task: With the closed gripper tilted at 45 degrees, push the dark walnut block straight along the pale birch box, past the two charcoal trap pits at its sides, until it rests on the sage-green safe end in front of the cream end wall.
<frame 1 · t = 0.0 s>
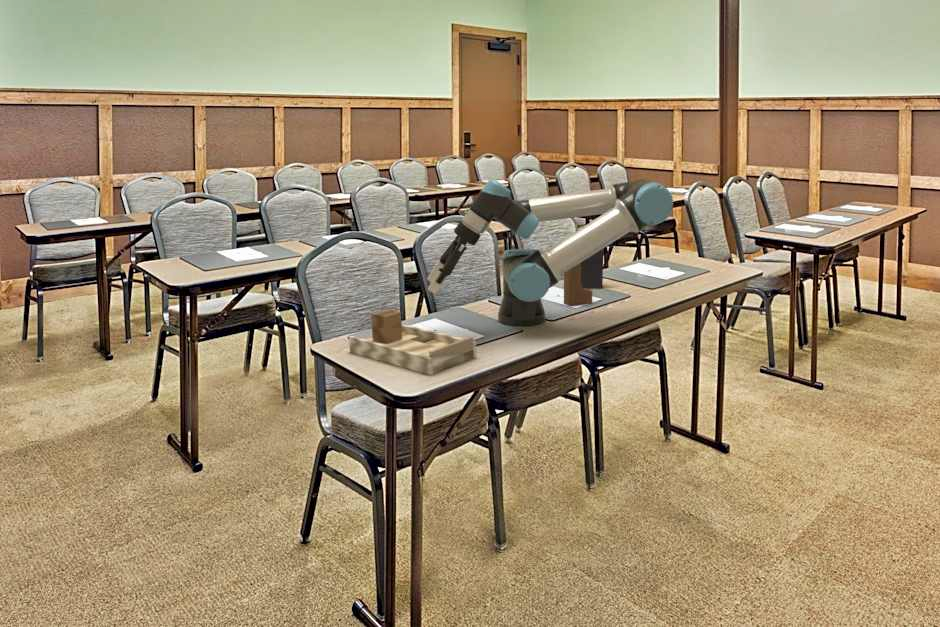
hand: (430, 286, 228), 15 cm above the table, tool tilted 35°, fingers open, 13 cm apart
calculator: (587, 288, 287), on the table
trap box: (412, 354, 215), on the table
walnut block: (387, 339, 220), point 2 cm above the table, touching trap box
wooden block: (577, 303, 265), on the table
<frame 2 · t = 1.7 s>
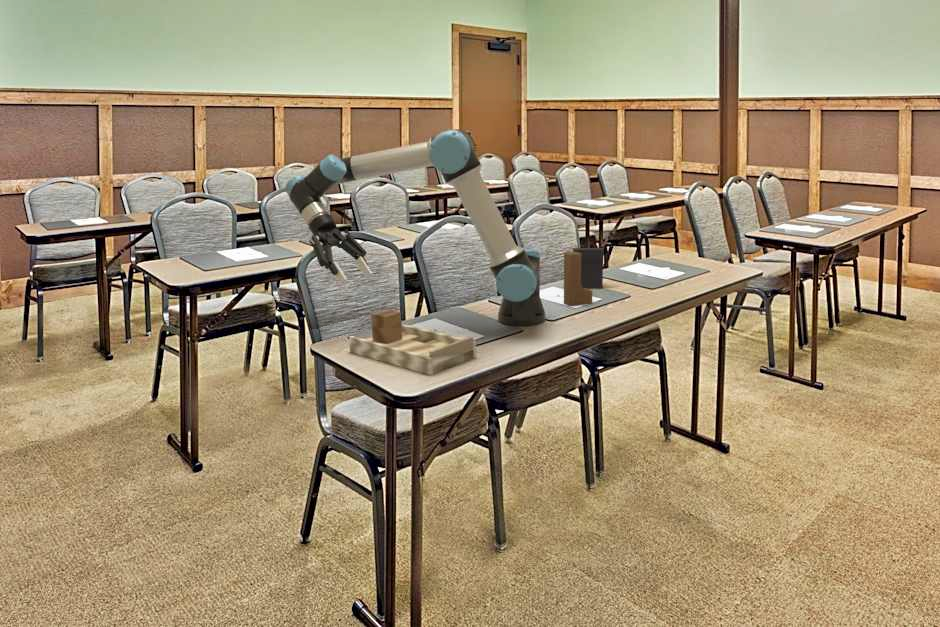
hand: (357, 279, 224), 19 cm above the table, tool tilted 45°, fingers open, 9 cm apart
nothing on the table moved.
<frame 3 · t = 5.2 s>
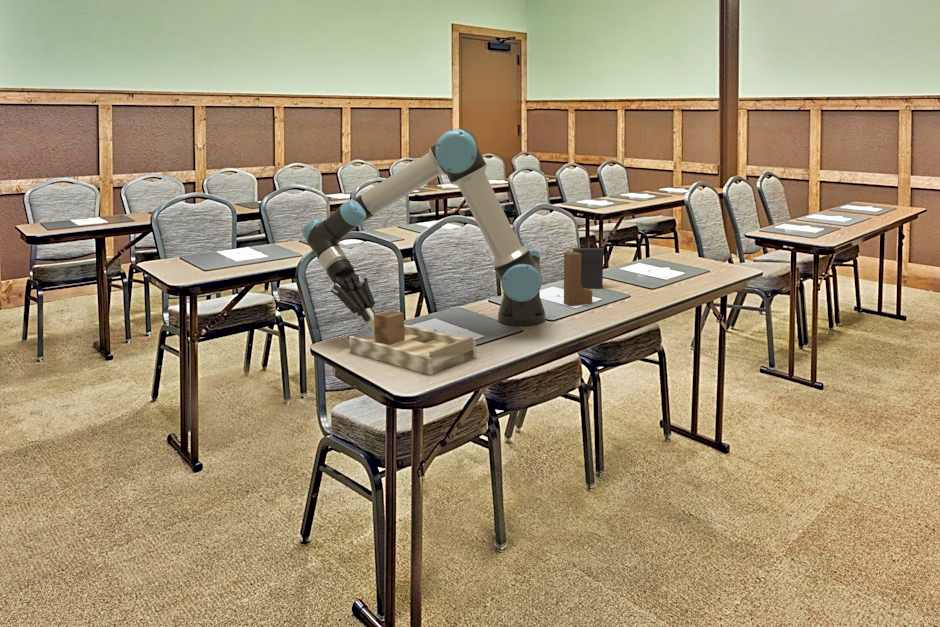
hand: (377, 328, 221), 6 cm above the table, tool tilted 45°, fingers closed
walnut block: (390, 340, 220), point 3 cm above the table, touching gripper
everything else where it was.
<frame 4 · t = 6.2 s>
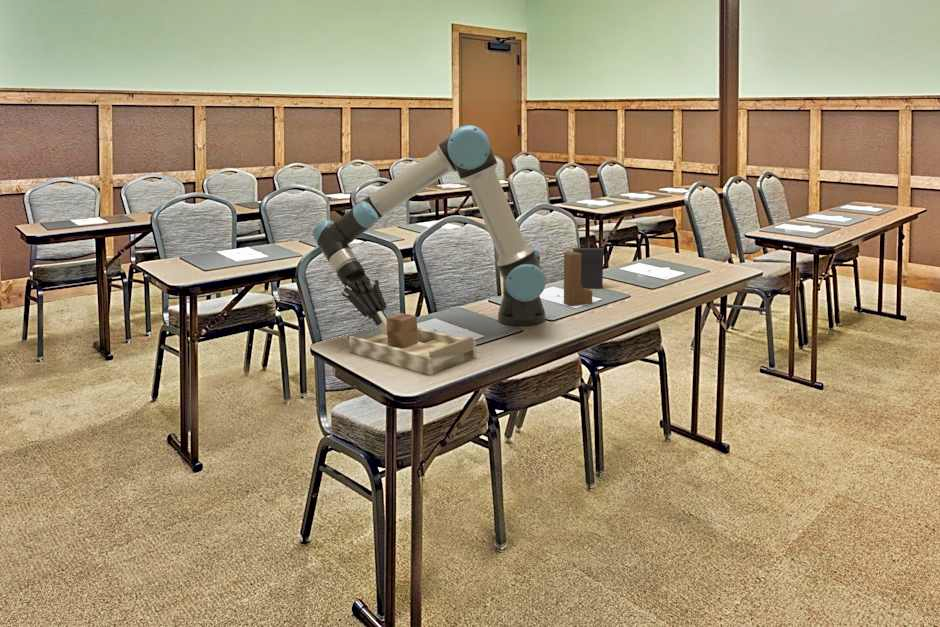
hand: (388, 332, 217), 6 cm above the table, tool tilted 45°, fingers closed
walnut block: (402, 344, 216), point 3 cm above the table, touching gripper, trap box
everything else where it was.
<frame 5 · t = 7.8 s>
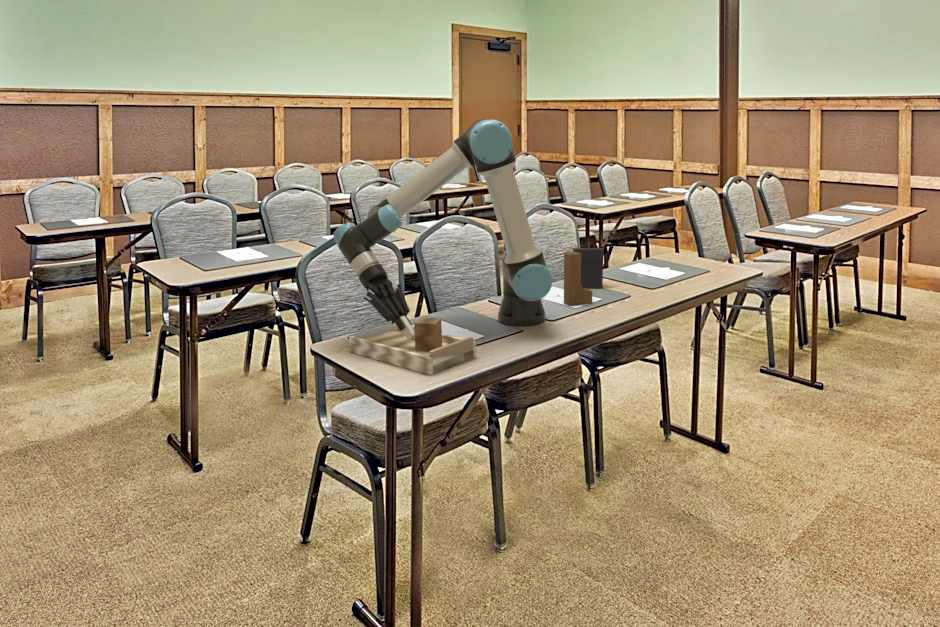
hand: (412, 337, 211), 6 cm above the table, tool tilted 45°, fingers closed
walnut block: (428, 348, 212), point 3 cm above the table, touching gripper
everything else where it was.
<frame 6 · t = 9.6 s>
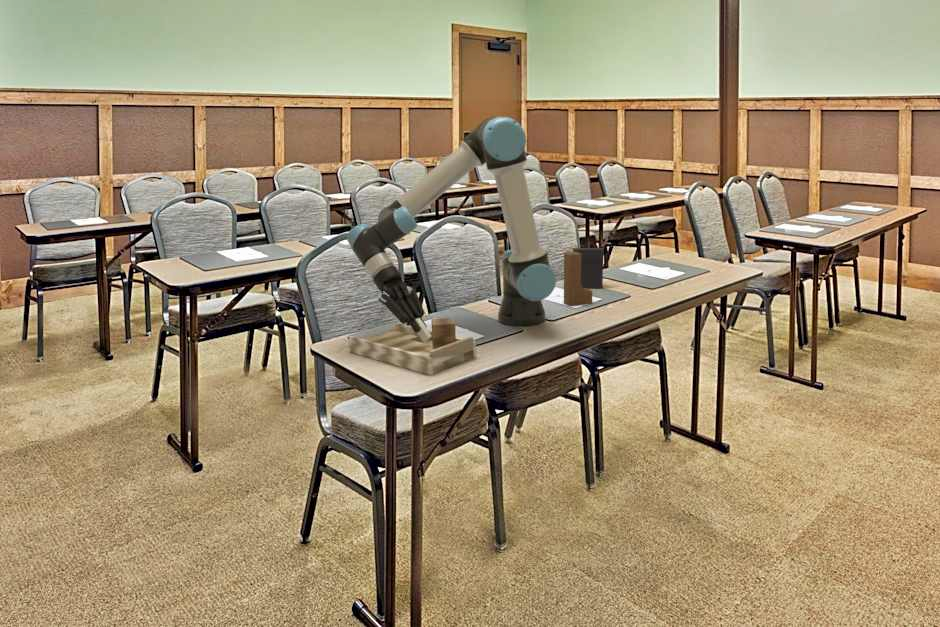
hand: (428, 339, 209), 6 cm above the table, tool tilted 45°, fingers closed
walnut block: (444, 349, 210), point 2 cm above the table, touching gripper, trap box
everything else where it was.
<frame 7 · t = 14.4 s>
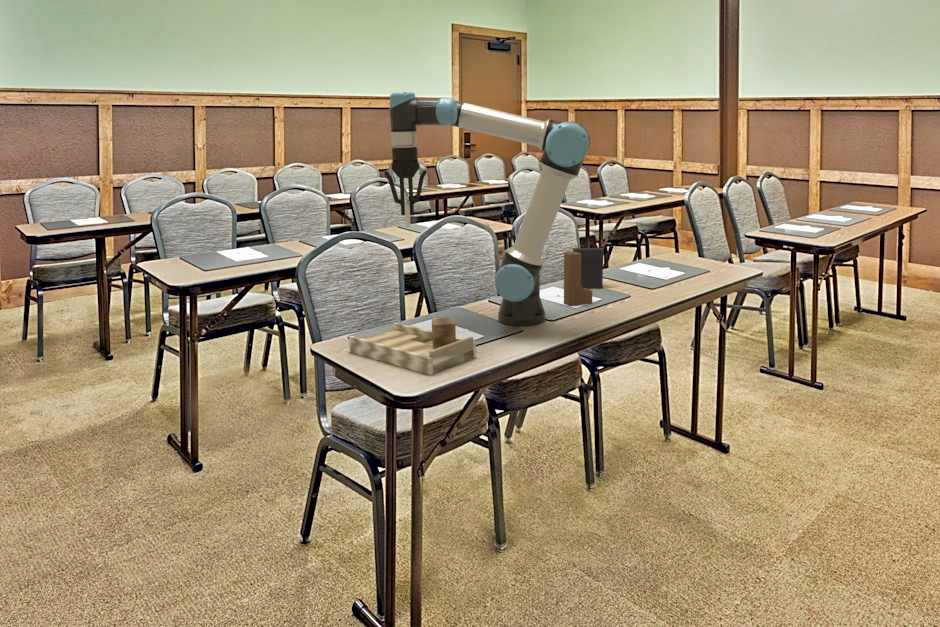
hand: (408, 226, 231), 32 cm above the table, tool pointing down, fingers closed
walnut block: (444, 349, 211), point 2 cm above the table, touching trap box
everything else where it was.
at the end: walnut block 3.4 cm from the target spot, point 2.5 cm above the table; walnut block tilted 0°; walnut block moved 19.6 cm from its start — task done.
